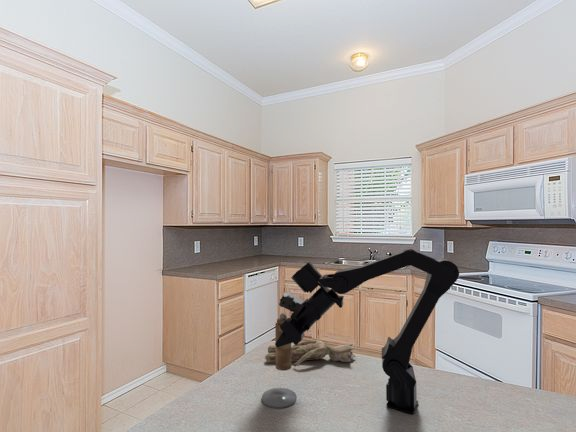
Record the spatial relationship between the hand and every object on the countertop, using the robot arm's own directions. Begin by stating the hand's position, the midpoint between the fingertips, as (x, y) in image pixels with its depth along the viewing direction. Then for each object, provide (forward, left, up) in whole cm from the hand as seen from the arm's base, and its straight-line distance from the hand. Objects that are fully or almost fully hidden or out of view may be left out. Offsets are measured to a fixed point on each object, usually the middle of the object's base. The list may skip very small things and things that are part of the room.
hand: (278, 342), depth 92 cm
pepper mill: (-1, 0, -7) cm, 7 cm away
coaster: (-4, +5, -12) cm, 14 cm away
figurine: (+2, -23, -13) cm, 26 cm away
